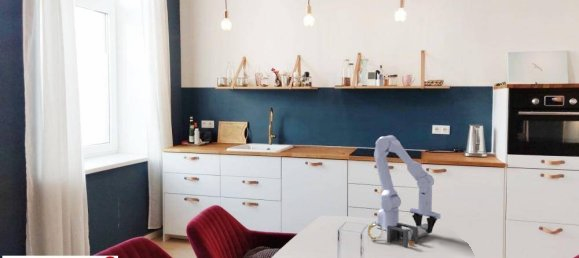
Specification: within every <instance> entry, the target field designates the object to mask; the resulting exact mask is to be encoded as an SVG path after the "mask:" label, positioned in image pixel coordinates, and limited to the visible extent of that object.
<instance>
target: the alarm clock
mask: <svg viewBox="0 0 579 258" xmlns="http://www.w3.org/2000/svg"><path fill="white" fill-rule="evenodd" d="M377 226H379V227H380V228H381V234H380V235H379V236H378V237H376V236H375V237H373V236H371V234H370V232H371V230H372V229H373V228H374V227H377ZM380 228H379V229H380ZM367 234H368V235H367V236H369V238H370V239H372V240H374V241H377V240H380V239H381V238H382V237H383V235H384V229H383V227H382V226H381V225H380V224H379V222H378V223H377V221H373V222H371V223H370V224H369V226H368V228H367Z"/></svg>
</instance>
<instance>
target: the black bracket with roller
mask: <svg viewBox="0 0 579 258" xmlns="http://www.w3.org/2000/svg"><path fill="white" fill-rule="evenodd" d="M415 226H416V225H415ZM415 226H414V225H411V224H407V223H402V222H398V223H397V225H395V226H390V225H389V226H387V230H386V231H387V232H386V242H387V243H393V242H394V241H398V240H402V247H403V248H408V246H411V247H414V246H415V245H417V244H418V239H419V238H418V227H415ZM404 228H405V229H404ZM406 228H407V229H409V228H411V229H413V240H411V241H408V230H406ZM401 232H403V239H402V237H401Z"/></svg>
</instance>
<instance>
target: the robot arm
mask: <svg viewBox="0 0 579 258" xmlns="http://www.w3.org/2000/svg"><path fill="white" fill-rule="evenodd" d="M374 148H375V149H374V152H373V157H374V161H375V165H376V169H377V172H378V173H377V174H378V177H379V183H380V186H381V190H382V192H381V196H380V199H381V201H380V206H381V208H380V209H379V210H378V211H377V212H378V213H377V221H376V222H377V223H378V222H379V224H380V225H381V226H382V227H383V229H384V230H385V231H387V226H389V225H390V226H395V225H397V223H399V220H400V219H399V215H400V213H399V212H400V211H399V210H400V209H399V207H400V206H401V203H402V200H401V197H400V196H399V194H398V191H396V189H395V188H394V184H393V180H392V176H391V171H390V167H389V163H388V160H387V156H388V155H389V153H395V155H396V156H398V158H400V160H401V161H403V163H404V164H405V165H406V169H407V171H408V173H409V174H410V175H411V176H412V177H413V178H414V179H415V181H416V184H417V187H418V206H417V207H418V208H410V209H409V214H413V215H412V216H411V217H412V219H413V221H414V223H415V226H419V225H422V221H423V216H425V217H426V224H428V233H430V234H431V233H433V229H434V226H435V224H436V222H437V220H440V219H441V213H438V212H434V211H432V203H433V202H432V201H433V185H434V183H435V179H434V177H433V176H432V175H431V174H429V173H428V172H427V171H426V170H424V168H423V167H422V163H421V162H418V161H414V160H413V159H412V158H411V156H410V155H409V154H408V152H407V151H406V149H405V148H404V147H403V146H402V144H401V142H400V140H398V139H397V137H396V136H394V135H392V134H389V135H386V136H380V137H379V138H377V140H376V141H375V147H374ZM375 227H376V229H379V230H380V229H381V228H380V227H379V226H375Z"/></svg>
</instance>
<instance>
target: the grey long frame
mask: <svg viewBox="0 0 579 258" xmlns="http://www.w3.org/2000/svg"><path fill="white" fill-rule="evenodd" d="M415 227H418V239H420V238H422V237H425V236H428V235H430V234H431V233H428V223H427V222H426V223H421V225H419V226H416V225H415ZM405 230H408V242H409V241H413V229H411V228H407V229H406V228H405ZM401 237H402V239H401V240H403V232H401Z"/></svg>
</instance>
